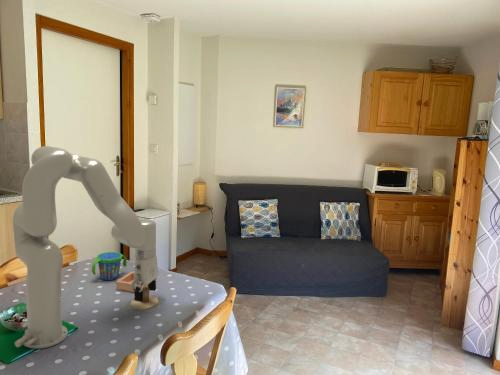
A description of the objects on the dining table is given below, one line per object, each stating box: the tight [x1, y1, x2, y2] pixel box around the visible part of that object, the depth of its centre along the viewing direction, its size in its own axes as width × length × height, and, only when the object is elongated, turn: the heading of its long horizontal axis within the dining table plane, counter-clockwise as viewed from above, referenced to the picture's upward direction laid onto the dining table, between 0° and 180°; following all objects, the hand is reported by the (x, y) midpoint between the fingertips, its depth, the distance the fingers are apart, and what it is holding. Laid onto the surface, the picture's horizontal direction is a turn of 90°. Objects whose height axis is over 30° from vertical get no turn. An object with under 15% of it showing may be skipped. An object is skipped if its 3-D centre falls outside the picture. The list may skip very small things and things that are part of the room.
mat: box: [122, 296, 167, 314], centre depth 145 cm, size 12×12×1 cm
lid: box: [130, 287, 158, 309], centre depth 144 cm, size 10×10×6 cm
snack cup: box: [91, 251, 128, 281], centre depth 167 cm, size 16×10×10 cm
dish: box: [115, 271, 148, 294], centre depth 158 cm, size 11×11×4 cm
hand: (145, 295), depth 144 cm, fingers open, 9 cm apart
